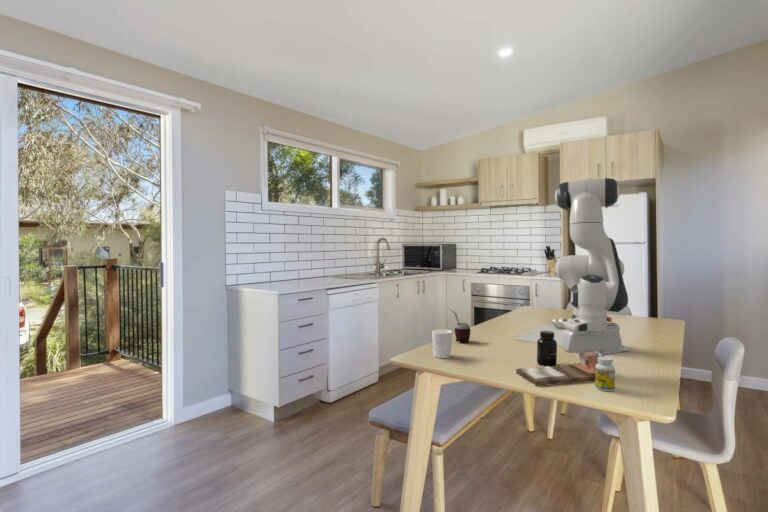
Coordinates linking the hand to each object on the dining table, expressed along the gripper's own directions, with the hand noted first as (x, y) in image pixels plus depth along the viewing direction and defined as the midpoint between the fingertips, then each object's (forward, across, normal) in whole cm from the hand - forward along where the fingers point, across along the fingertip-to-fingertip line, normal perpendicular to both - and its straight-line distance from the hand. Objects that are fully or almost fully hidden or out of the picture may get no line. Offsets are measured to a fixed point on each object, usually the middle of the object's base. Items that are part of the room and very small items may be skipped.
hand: (591, 363), depth 145 cm
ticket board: (+3, +10, 0) cm, 11 cm away
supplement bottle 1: (+4, +8, -13) cm, 16 cm away
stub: (+2, 0, 0) cm, 2 cm away
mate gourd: (+4, +27, -52) cm, 59 cm away
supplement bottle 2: (+4, +6, +13) cm, 15 cm away
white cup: (+4, +42, -32) cm, 54 cm away
